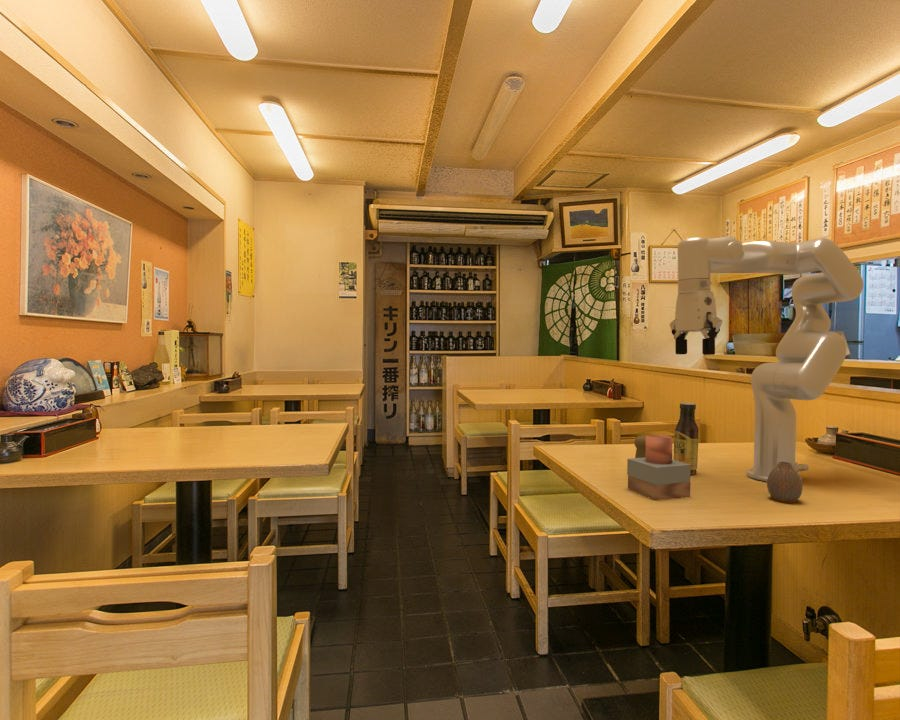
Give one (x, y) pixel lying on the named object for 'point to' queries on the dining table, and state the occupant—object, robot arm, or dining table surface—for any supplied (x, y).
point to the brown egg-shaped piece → (784, 483)
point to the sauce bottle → (686, 437)
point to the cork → (640, 447)
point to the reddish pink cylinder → (659, 449)
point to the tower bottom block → (659, 489)
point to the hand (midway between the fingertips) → (694, 354)
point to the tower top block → (658, 471)
